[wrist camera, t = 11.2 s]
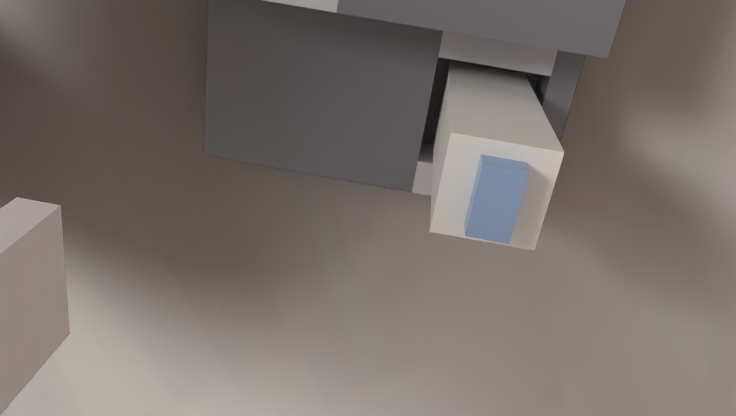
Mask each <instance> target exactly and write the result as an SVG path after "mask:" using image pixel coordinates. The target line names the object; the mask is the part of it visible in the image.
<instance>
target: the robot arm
mask: <svg viewBox="0 0 736 416" xmlns="http://www.w3.org/2000/svg"><path fill="white" fill-rule="evenodd" d="M69 334H70V330H69V315H68V301H67V287H66V272H65V258H64V244H63V229H62V215H61V205H56V204H51V203H45V202H40V201H35V200H30V199H24V198H19V197H16V198H15V199H13V200H12V201H10V202H9V203H8V204H6V205H5V206H3V207H2V208H0V415H1V414H2V413H3V412H4V410H5V409H6V408H7V407H8V406H9V405H10V403H11V402H12V401H13V400H14V399H15V397H16V396H17V395H18V394H19V393H20V392H21V390H22V389H23V388H24V387H25V386H26V385H27V383H28V382H29V381H30V380H31V379H32V378H33V376H34V375H35V374H36V373H37V372H38V370H39V369H40V368H41V367H42V366H43V365H44V363H45V362H46V361H47V360H48V359H49V358H50V356H51V355H52V354H53V353H54V352H55V350H56V349H57V348H58V347H59V346H60V345H61V343H62V342H63V341H64V340H65V339H66V338H67V336H68V335H69Z"/></svg>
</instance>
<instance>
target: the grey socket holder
mask: <svg viewBox="0 0 736 416" xmlns="http://www.w3.org/2000/svg"><path fill="white" fill-rule="evenodd" d="M625 2H626V0H208V24H207V59H206V94H205V129H204V155H206V156H212V157H217V158H223V159H228V160H234V161H240V162H245V163H251V164H256V165H262V166H267V167H273V168H279V169H284V170H290V171H295V172H301V173H306V174H312V175H317V176H323V177H329V178H334V179H340V180H345V181H351V182H356V183H362V184H367V185H373V186H379V187H384V188H390V189H395V190H401V191H406V192H412V193H418V194H423V195H429V196H431V190H432V169H433V148H434V131H435V126H436V121H437V116H438V111H439V106H440V101H441V96H442V91H443V86H444V81H445V77H446V72H447V67H448V62H449V60H452V61H457V62H463V63H469V64H475V65H481V66H487V67H492V68H498V69H504V70H510V71H516V72H522V73H525V75H526V77H527V79H528V81H529V83H530V85H531V87H532V89H533V91H534V93H535V95H536V97H537V99H538V101H539V103H540V105H541V107H542V109H543V111H544V113H545V115H546V117H547V119H548V121H549V123H550V124H551V126H552V128H553V130H554V132H555V134H556V136H557V138H558V140H559V142H560V139H561V136H562V133H563V129H564V126H565V123H566V119H567V116H568V113H569V109H570V106H571V103H572V99H573V96H574V93H575V89H576V86H577V83H578V80H579V76H580V73H581V70H582V66H583V63H584V60H585V56H586V55H589V56H595V57H601V58H607V59H608V56H609V53H610V50H611V46H612V43H613V40H614V37H615V34H616V31H617V28H618V24H619V21H620V18H621V15H622V12H623V9H624V6H625Z"/></svg>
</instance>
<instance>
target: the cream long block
mask: <svg viewBox="0 0 736 416" xmlns="http://www.w3.org/2000/svg"><path fill="white" fill-rule="evenodd" d="M564 153H565V152H564V150H563V148H562V146H561V144H560V142H559V140H558V138H557V136H556V134H555V132H554V130H553V128H552V126H551V124H550V123H549V121H548V119H547V117H546V115H545V113H544V111H543V109H542V107H541V105H540V103H539V101H538V99H537V97H536V95H535V93H534V91H533V89H532V87H531V85H530V83H529V81H528V79H527V77H526V75H525V73H522V72H516V71H510V70H504V69H498V68H492V67H487V66H481V65H475V64H469V63H463V62H457V61H452V60H449V62H448V67H447V72H446V77H445V81H444V86H443V91H442V96H441V101H440V106H439V111H438V116H437V121H436V126H435V131H434V148H433V169H432V190H431V211H430V232H434V233H439V234H445V235H450V236H456V237H461V238H467V239H472V240H478V241H483V242H489V243H494V244H500V245H505V246H511V247H516V248H522V249H527V250H533V251H534V250H535V247H536V244H537V241H538V237H539V234H540V231H541V228H542V224H543V221H544V218H545V215H546V211H547V208H548V205H549V202H550V198H551V195H552V192H553V189H554V185H555V182H556V179H557V176H558V172H559V169H560V166H561V163H562V159H563V156H564Z"/></svg>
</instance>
